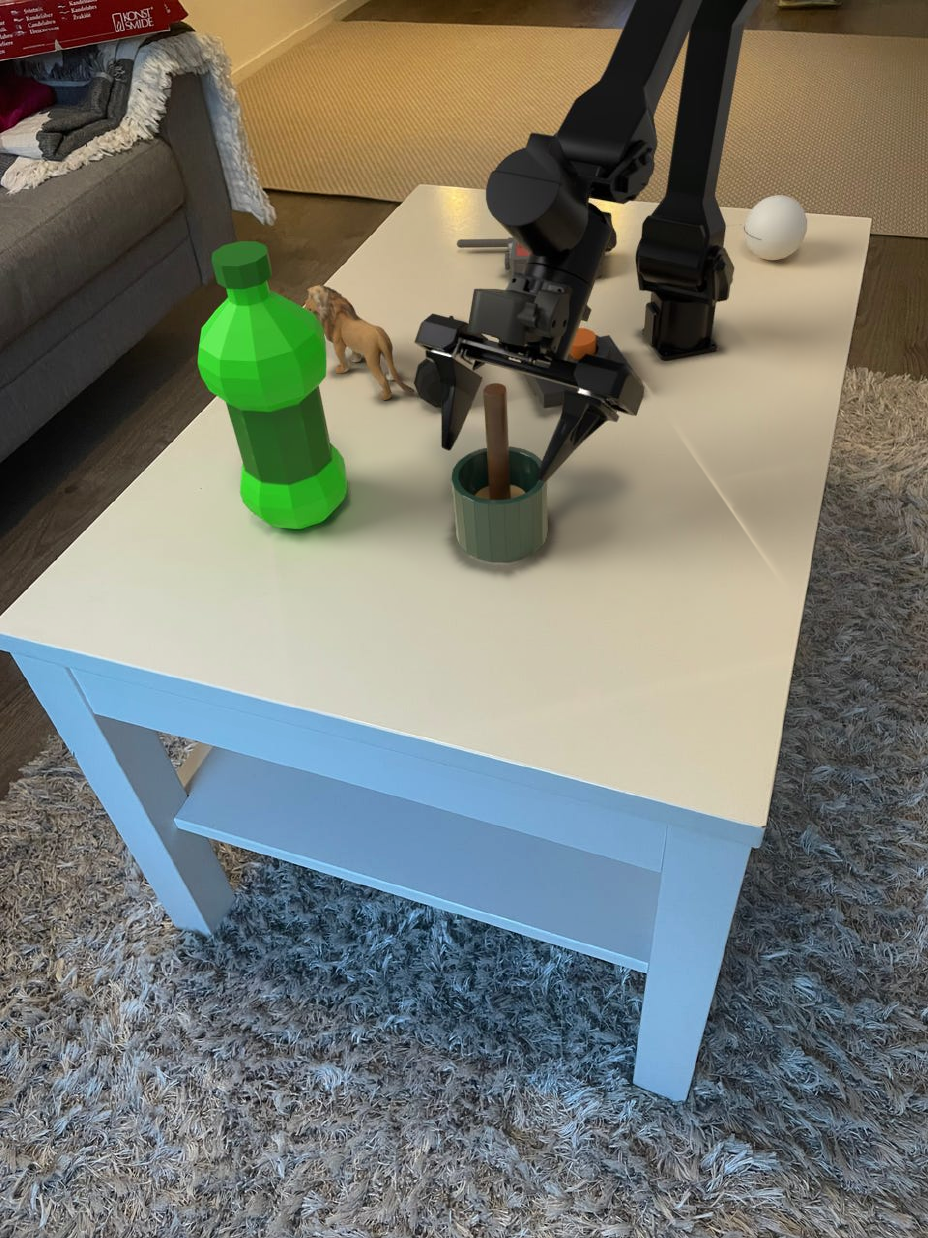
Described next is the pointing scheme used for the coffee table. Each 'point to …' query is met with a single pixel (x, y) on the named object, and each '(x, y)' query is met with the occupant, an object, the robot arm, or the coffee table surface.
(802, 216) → the white ball
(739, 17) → the robot arm
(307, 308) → the lion figurine
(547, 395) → the button unit
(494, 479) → the brown wooden dowel
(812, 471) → the coffee table surface
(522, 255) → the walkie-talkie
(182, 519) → the coffee table surface
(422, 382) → the microphone
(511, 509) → the green pen cup
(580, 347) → the button
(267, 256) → the plastic bottle
